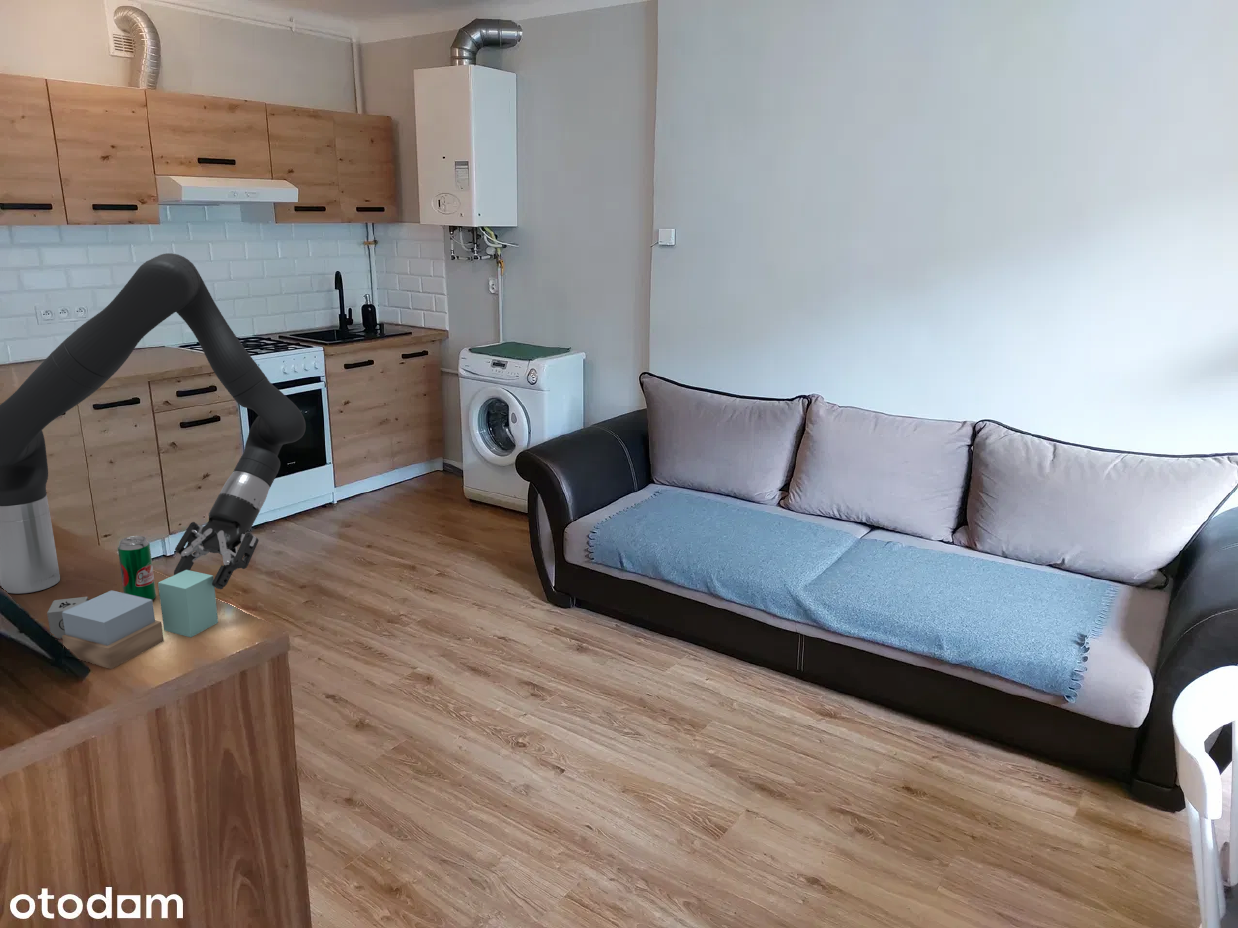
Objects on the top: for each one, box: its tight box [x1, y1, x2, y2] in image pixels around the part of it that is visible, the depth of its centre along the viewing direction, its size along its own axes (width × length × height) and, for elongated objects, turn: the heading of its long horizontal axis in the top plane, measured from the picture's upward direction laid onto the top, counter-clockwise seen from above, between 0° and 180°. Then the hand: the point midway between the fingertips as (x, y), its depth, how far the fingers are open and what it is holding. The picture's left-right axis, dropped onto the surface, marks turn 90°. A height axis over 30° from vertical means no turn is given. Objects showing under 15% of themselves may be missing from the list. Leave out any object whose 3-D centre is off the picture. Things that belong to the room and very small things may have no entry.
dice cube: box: [46, 596, 89, 640], centre depth 145 cm, size 5×5×5 cm
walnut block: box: [61, 619, 165, 670], centre depth 140 cm, size 10×10×4 cm
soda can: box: [117, 535, 157, 601], centre depth 156 cm, size 5×5×12 cm
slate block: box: [62, 589, 156, 646], centre depth 139 cm, size 9×9×4 cm
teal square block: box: [157, 569, 219, 638], centre depth 147 cm, size 6×6×9 cm
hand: (197, 583), depth 149 cm, fingers open, 8 cm apart
